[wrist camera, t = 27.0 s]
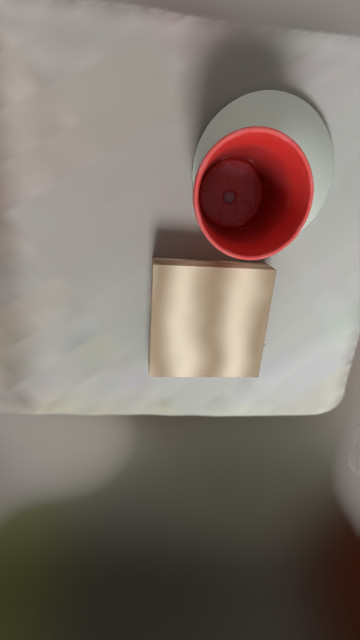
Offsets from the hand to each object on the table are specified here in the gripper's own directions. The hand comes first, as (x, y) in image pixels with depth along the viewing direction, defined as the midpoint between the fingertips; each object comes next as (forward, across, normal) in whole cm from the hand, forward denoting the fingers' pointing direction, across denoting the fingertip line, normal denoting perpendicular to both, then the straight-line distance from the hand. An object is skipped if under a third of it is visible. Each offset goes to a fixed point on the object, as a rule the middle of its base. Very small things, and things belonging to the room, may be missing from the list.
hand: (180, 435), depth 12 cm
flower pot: (+31, +8, +8) cm, 33 cm away
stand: (+32, +7, -7) cm, 33 cm away
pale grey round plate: (+32, +12, +10) cm, 35 cm away
